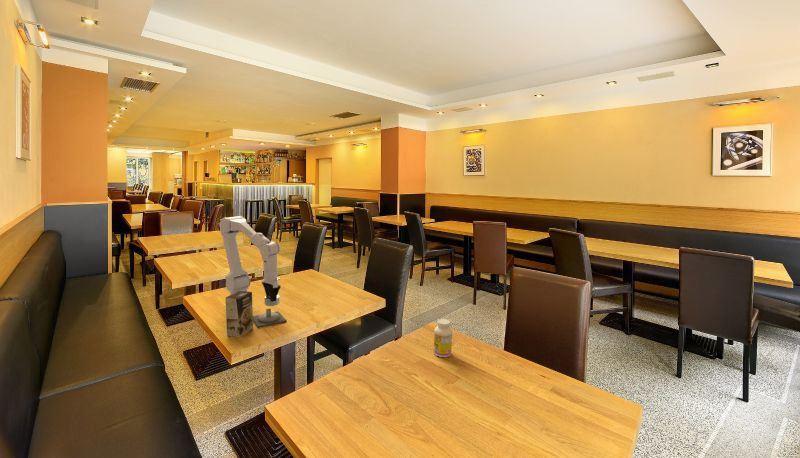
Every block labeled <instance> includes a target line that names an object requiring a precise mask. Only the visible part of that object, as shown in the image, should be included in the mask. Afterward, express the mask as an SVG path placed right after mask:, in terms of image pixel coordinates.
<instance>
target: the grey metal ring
mask: <svg viewBox="0 0 800 458" xmlns="http://www.w3.org/2000/svg"><path fill="white" fill-rule="evenodd" d="M279 304H281V303H280V295H279V294H278V295H277V299H276V301H273V302H271V300H270V295H267V296H266V295H265V296H264V305H265V306H267V307H274V306H278V305H279Z"/></svg>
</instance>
